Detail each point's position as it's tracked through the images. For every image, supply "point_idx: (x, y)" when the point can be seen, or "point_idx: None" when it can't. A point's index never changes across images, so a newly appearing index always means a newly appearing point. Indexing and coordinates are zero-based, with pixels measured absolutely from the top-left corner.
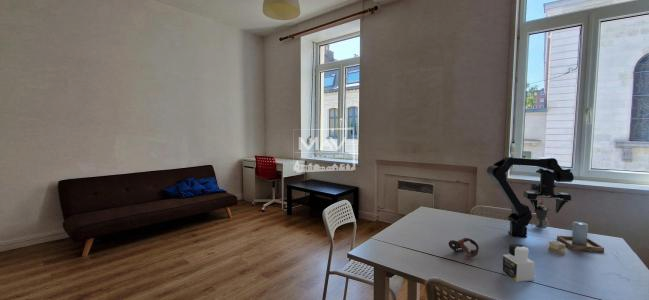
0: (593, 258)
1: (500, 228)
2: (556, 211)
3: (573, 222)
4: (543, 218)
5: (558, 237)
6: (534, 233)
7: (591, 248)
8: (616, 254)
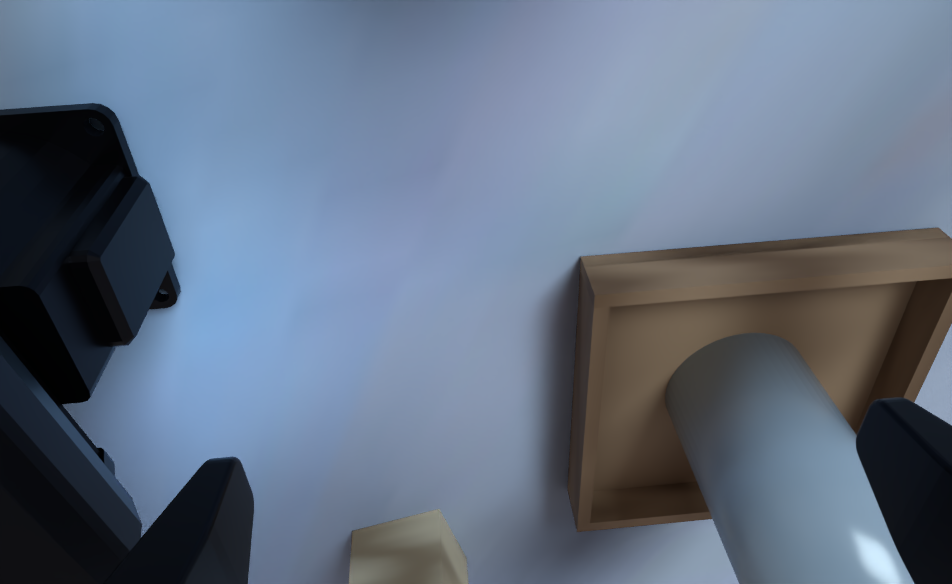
0: (644, 574)
1: None
2: (885, 476)
3: None
4: None
5: (587, 314)
6: (334, 63)
7: None
8: None
